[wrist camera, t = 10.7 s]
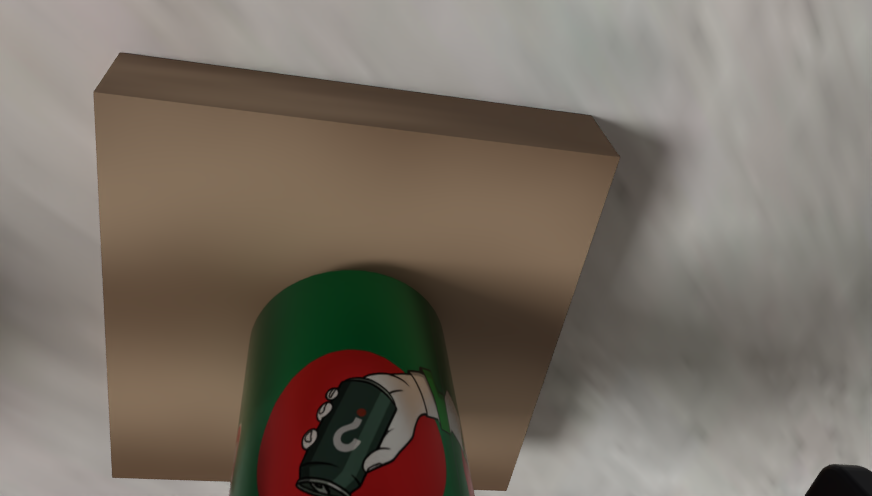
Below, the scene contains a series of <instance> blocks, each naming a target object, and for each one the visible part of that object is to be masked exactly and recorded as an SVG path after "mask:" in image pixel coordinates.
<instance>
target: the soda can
mask: <svg viewBox="0 0 872 496" xmlns="http://www.w3.org/2000/svg"><path fill="white" fill-rule="evenodd" d="M229 496H475V495H474V489H473V484H472V479H471V474H470V468H469V463H468V458H467V453H466V448H465V442H464V437H463V432H462V427H461V422H460V416H459V411H458V406H457V401H456V395H455V390H454V385H453V380H452V375H451V369H450V364H449V359H448V354H447V349H446V343H445V338H444V333H443V329H442V325H441V322H440V320H439V318H438V316H437V314H436V312H435V310H434V309H433V307H432V306H431V305H430V303H429V302H428V301H427V300H426V299H425V298H424V297H423V296H422V295H421V294H420V293H419V292H418V291H416V290H415V289H413V288H412V287H410V286H409V285H407V284H405V283H403V282H401V281H399V280H397V279H395V278H393V277H389V276H386V275H383V274H380V273H375V272H369V271H363V270H339V271H329V272H325V273H321V274H316V275H313V276H310V277H307V278H305V279H302V280H299V281H297V282H296V283H294V284H292V285H290V286H288V287H287V288H285V289H283V290H282V291H281V292H280V293H278V294H277V295H276V296H274V297H273V298H272V299H271V300H270V301H269V302H268V303H267V305H266V306H265V307H264V308H263V309H262V311H261V312H260V314H259V315H258V317H257V319H256V321H255V323H254V326H253V328H252V331H251V336H250V341H249V347H248V355H247V363H246V370H245V378H244V385H243V393H242V400H241V408H240V415H239V423H238V430H237V438H236V445H235V453H234V460H233V468H232V475H231V483H230V490H229Z"/></svg>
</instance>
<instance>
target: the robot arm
mask: <svg viewBox="0 0 872 496" xmlns="http://www.w3.org/2000/svg"><path fill="white" fill-rule="evenodd" d="M805 496H872V472H871V471H870V470H868V469H866V468H864V467H861V466H857V465H839V464H832V465H828V466H826V467H825V468H823V469H822V470H821V472H820V473H819V475H818V476H817V478H816V479H815V481H814V482H813V484H812V485H811V487H810V488H809V490H808V491H807V493H806V494H805Z"/></svg>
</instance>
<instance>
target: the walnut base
mask: <svg viewBox="0 0 872 496" xmlns="http://www.w3.org/2000/svg"><path fill="white" fill-rule="evenodd" d="M94 112H95V133H96V153H97V174H98V194H99V215H100V235H101V256H102V276H103V297H104V317H105V338H106V358H107V379H108V399H109V420H110V440H111V461H112V478H138V479H168V480H198V481H227V482H231V475H232V468H233V460H234V453H235V445H236V438H237V430H238V423H239V415H240V408H241V400H242V393H243V385H244V378H245V370H246V363H247V355H248V347H249V341H250V336H251V331H252V328H253V326H254V323H255V321H256V319H257V317H258V315H259V314H260V312H261V311H262V309H263V308H264V307H265V306H266V305H267V303H268V302H269V301H270V300H271V299H272V298H273V297H274V296H276V295H277V294H278V293H280V292H281V291H282V290H283V289H285V288H287V287H288V286H290V285H292V284H294V283H296V282H297V281H299V280H302V279H305V278H307V277H310V276H313V275H316V274H321V273H325V272H329V271H339V270H363V271H369V272H375V273H380V274H383V275H386V276H389V277H393V278H395V279H397V280H399V281H401V282H403V283H405V284H407V285H409V286H410V287H412V288H413V289H415V290H416V291H418V292H419V293H420V294H421V295H422V296H423V297H424V298H425V299H426V300H427V301H428V302H429V303H430V305H431V306H432V307H433V309H434V310H435V312H436V314H437V316H438V318H439V320H440V322H441V325H442V329H443V333H444V338H445V343H446V349H447V354H448V359H449V364H450V369H451V375H452V380H453V385H454V390H455V395H456V401H457V406H458V411H459V416H460V422H461V427H462V432H463V437H464V442H465V448H466V453H467V458H468V463H469V468H470V474H471V479H472V484H473V489H474V490H495V491H506V490H507V488H508V485H509V482H510V479H511V476H512V473H513V470H514V467H515V464H516V461H517V458H518V455H519V452H520V449H521V447H522V444H523V441H524V438H525V435H526V432H527V429H528V426H529V423H530V420H531V417H532V414H533V411H534V408H535V405H536V403H537V400H538V397H539V394H540V391H541V388H542V385H543V382H544V379H545V376H546V373H547V370H548V367H549V364H550V361H551V359H552V356H553V353H554V350H555V347H556V344H557V341H558V338H559V335H560V332H561V329H562V326H563V323H564V320H565V317H566V315H567V312H568V309H569V306H570V303H571V300H572V297H573V294H574V291H575V288H576V285H577V282H578V279H579V276H580V274H581V271H582V268H583V265H584V262H585V259H586V256H587V253H588V250H589V247H590V244H591V241H592V238H593V235H594V232H595V230H596V227H597V224H598V221H599V218H600V215H601V212H602V209H603V206H604V203H605V200H606V197H607V194H608V191H609V188H610V186H611V183H612V180H613V177H614V174H615V171H616V168H617V165H618V162H619V159H620V156H619V155H618V153H617V152H616V151H615V149H614V148H613V146H612V145H611V143H610V142H609V141H608V139H607V138H606V136H605V135H604V133H603V132H602V130H601V129H600V128H599V126H598V125H597V123H596V122H595V120H594V119H593V117H592V116H590V115H582V114H575V113H567V112H560V111H552V110H545V109H537V108H530V107H522V106H515V105H507V104H500V103H492V102H485V101H478V100H470V99H463V98H455V97H448V96H440V95H433V94H425V93H418V92H410V91H403V90H395V89H388V88H380V87H373V86H366V85H358V84H351V83H343V82H336V81H328V80H321V79H313V78H306V77H298V76H291V75H283V74H276V73H268V72H261V71H253V70H246V69H239V68H231V67H224V66H216V65H209V64H201V63H194V62H186V61H179V60H171V59H164V58H156V57H149V56H141V55H134V54H126V53H119V55H118V56H117V58H116V59H115V61H114V62H113V64H112V65H111V67H110V68H109V70H108V71H107V73H106V74H105V76H104V77H103V79H102V80H101V82H100V83H99V85H98V86H97V88H96V89H95V91H94Z"/></svg>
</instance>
